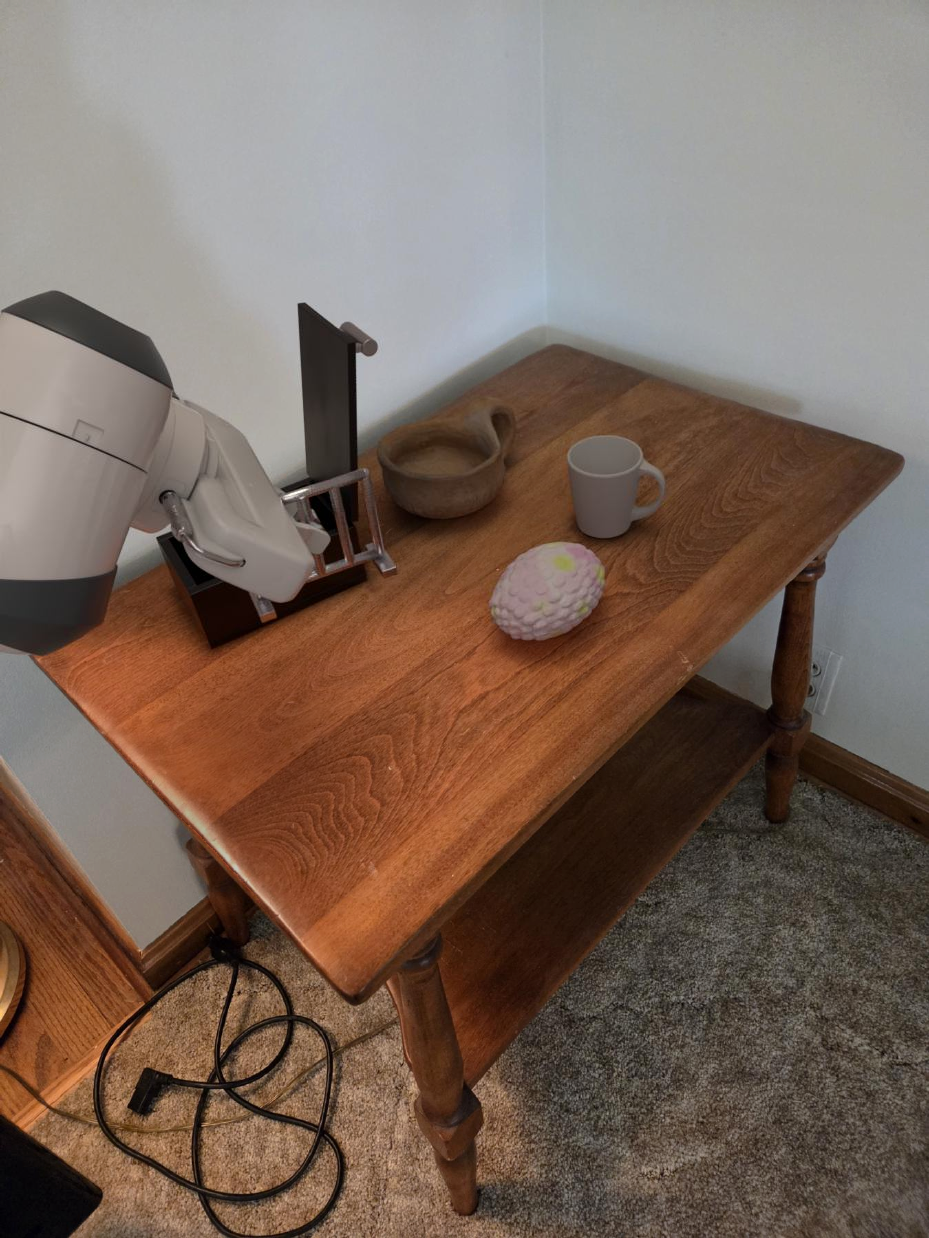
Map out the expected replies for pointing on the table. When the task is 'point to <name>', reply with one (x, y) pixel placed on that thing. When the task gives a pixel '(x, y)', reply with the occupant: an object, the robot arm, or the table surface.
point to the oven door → (331, 399)
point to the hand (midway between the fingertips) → (318, 533)
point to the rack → (373, 550)
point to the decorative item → (547, 591)
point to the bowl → (449, 460)
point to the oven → (230, 607)
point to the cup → (609, 484)
